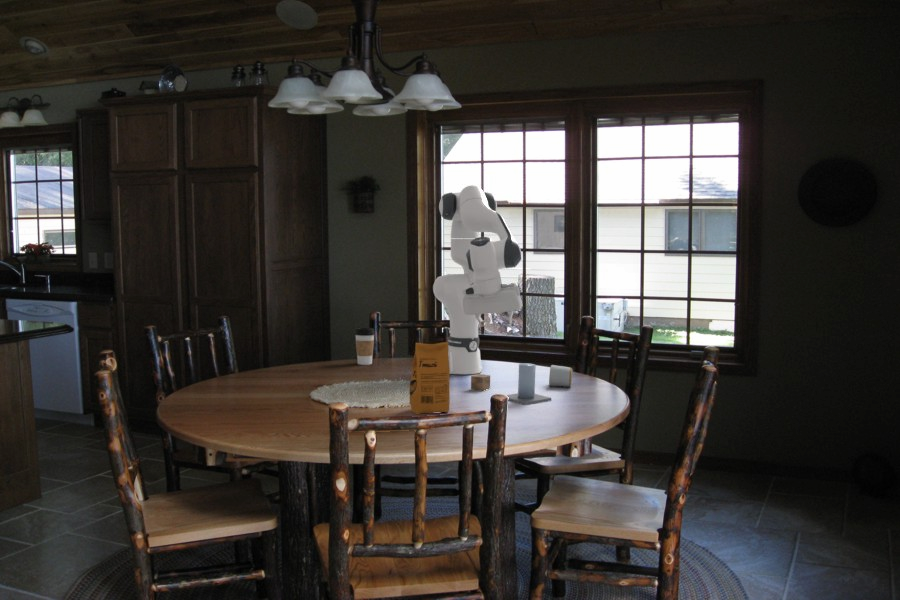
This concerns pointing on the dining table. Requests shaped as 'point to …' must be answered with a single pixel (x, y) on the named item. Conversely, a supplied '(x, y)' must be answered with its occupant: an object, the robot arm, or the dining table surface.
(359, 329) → the coffee cup
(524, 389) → the blue-grey tall cylinder
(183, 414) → the dining table surface
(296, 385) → the dining table surface
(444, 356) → the coffee package
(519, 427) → the dining table surface
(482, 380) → the walnut block
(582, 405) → the dining table surface
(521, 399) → the pad
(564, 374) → the grey rounded block
